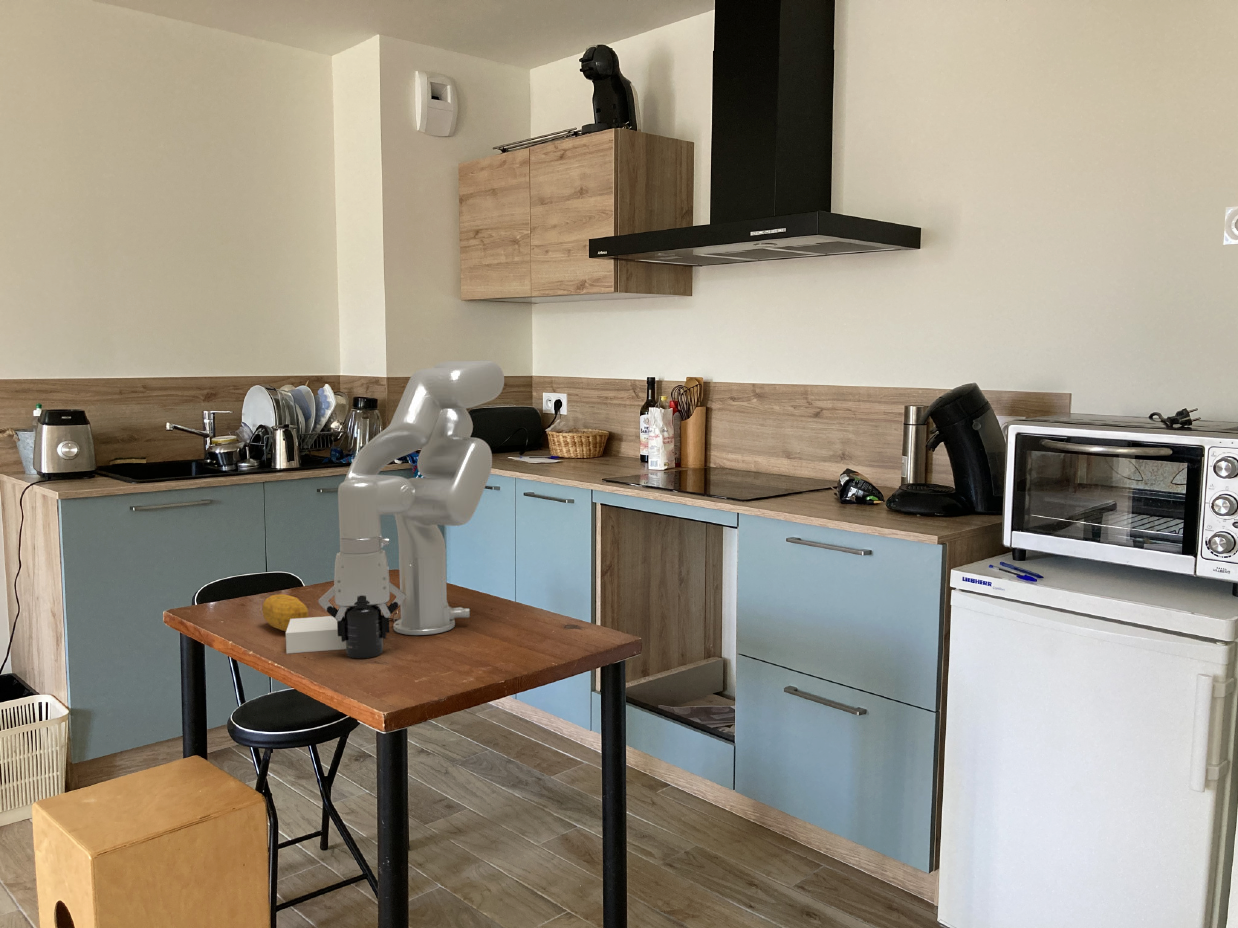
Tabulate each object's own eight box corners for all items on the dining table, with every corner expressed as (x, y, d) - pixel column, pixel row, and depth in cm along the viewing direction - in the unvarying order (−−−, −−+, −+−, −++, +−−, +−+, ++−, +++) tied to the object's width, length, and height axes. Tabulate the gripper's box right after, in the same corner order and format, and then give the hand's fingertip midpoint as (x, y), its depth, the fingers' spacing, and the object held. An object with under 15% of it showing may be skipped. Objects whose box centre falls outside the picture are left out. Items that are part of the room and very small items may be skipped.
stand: (347, 634, 196) (347, 614, 195) (346, 648, 185) (345, 628, 185) (291, 638, 193) (290, 618, 193) (286, 653, 182) (285, 633, 182)
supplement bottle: (368, 646, 186) (366, 586, 185) (390, 653, 182) (388, 591, 181) (338, 655, 181) (336, 593, 180) (360, 661, 177) (357, 598, 176)
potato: (291, 619, 208) (290, 588, 207) (316, 633, 196) (315, 600, 196) (258, 625, 203) (256, 593, 203) (281, 639, 192) (279, 605, 191)
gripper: (407, 539, 185) (409, 629, 187) (313, 544, 181) (317, 636, 183) (408, 546, 178) (411, 639, 180) (311, 551, 174) (315, 647, 176)
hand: (364, 637), depth 181 cm, fingers closed on supplement bottle, 6 cm apart
